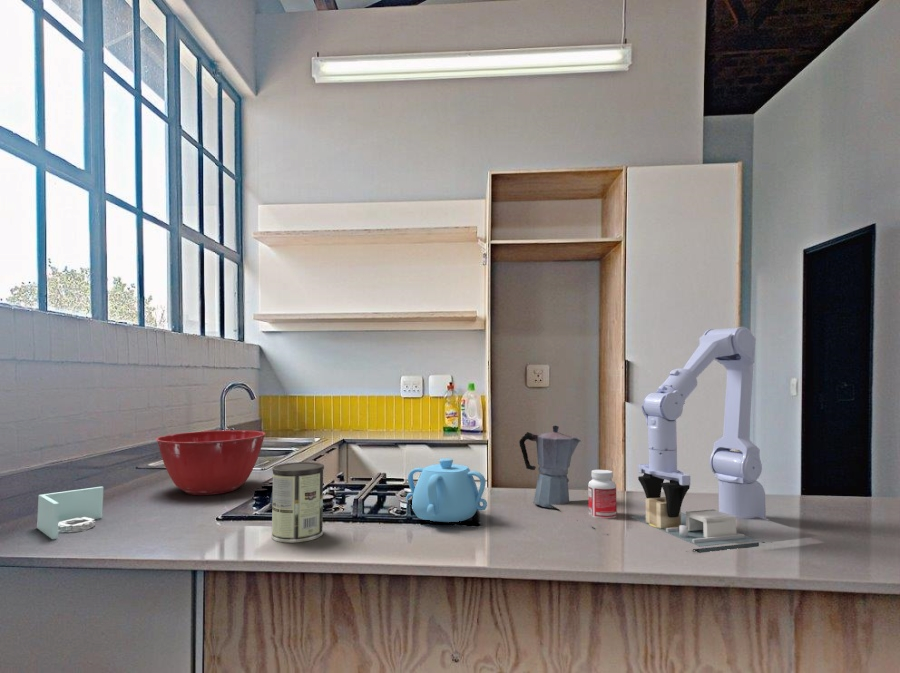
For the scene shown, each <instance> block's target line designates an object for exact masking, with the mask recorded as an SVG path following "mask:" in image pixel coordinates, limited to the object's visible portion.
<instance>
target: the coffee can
mask: <svg viewBox="0 0 900 673" xmlns="http://www.w3.org/2000/svg"><path fill="white" fill-rule="evenodd" d="M324 469H325V465H324V464H323V463H320V462H315V461H314V462H311V461H302V462H301V461H299V462H286V463H281V464H277V465H273V466H272V470H271V471H272V504H271V507H272V510H271V511H272V513H271V515H272V516H271V517H272V518H271V539H272V540H274V541H275V542H279V543H303V542H309V541H313V540H317V539H318V538H320V537H322V536H323V534H324V532H323V525H324V524H323V520H324V519H323V518H324V517H323V514H324V512H323V511H324V510H323V509H324V508H323V507H324V506H323V505H324V503H323V502H324V501H323V500H324Z"/></svg>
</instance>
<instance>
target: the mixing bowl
mask: <svg viewBox="0 0 900 673" xmlns="http://www.w3.org/2000/svg"><path fill="white" fill-rule="evenodd" d="M265 436H266V432H264V431H259V430H242V429H241V430H240V429H239V430H233V429H231V430H230V429H229V430H207V431H205V430H204V431H192V432H181V433H174V434H173V433H172V434H167V435H163V436H159V437H156V442H157V444H158V448H159V451H160V456H161V460H162V462H163V464H164V467H165V469H166V471H167V474H168V475H169V477H170V479H171V481H172V482H173V483H174V485H175V486H176V487H177V488H178V489H179V490H181V491H183V492H185V493H186V494H188V495H193V496H211V495H219V494H225V493H230V492H233V491H235V490H237V489H238V488H239V487H240V486H242V485H244V484H245V482H246V481H247V480H248V479H249V477H250V475H251V474H252V472H253V470H254V468H255V466H256V464H257V461H258V458H259V455H260V453H261V451H262V446H263V442H264V437H265Z"/></svg>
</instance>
